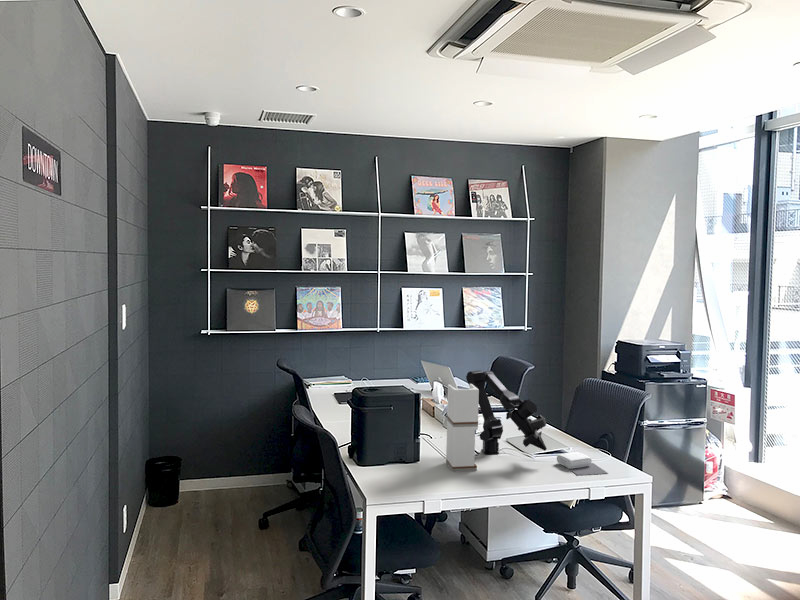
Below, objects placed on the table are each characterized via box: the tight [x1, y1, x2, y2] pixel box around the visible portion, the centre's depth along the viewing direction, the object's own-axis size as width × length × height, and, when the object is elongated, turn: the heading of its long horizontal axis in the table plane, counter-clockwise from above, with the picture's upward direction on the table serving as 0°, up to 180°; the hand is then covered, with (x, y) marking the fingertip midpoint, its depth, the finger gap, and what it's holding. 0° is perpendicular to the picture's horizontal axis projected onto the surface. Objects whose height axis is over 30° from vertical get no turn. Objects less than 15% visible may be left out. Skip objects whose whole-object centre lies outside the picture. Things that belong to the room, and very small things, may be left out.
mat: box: [567, 462, 609, 476], centre depth 290 cm, size 14×13×1 cm
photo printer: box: [556, 451, 593, 469], centre depth 295 cm, size 10×4×12 cm
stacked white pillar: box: [445, 383, 479, 473], centre depth 289 cm, size 11×11×35 cm
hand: (545, 449), depth 293 cm, fingers closed
